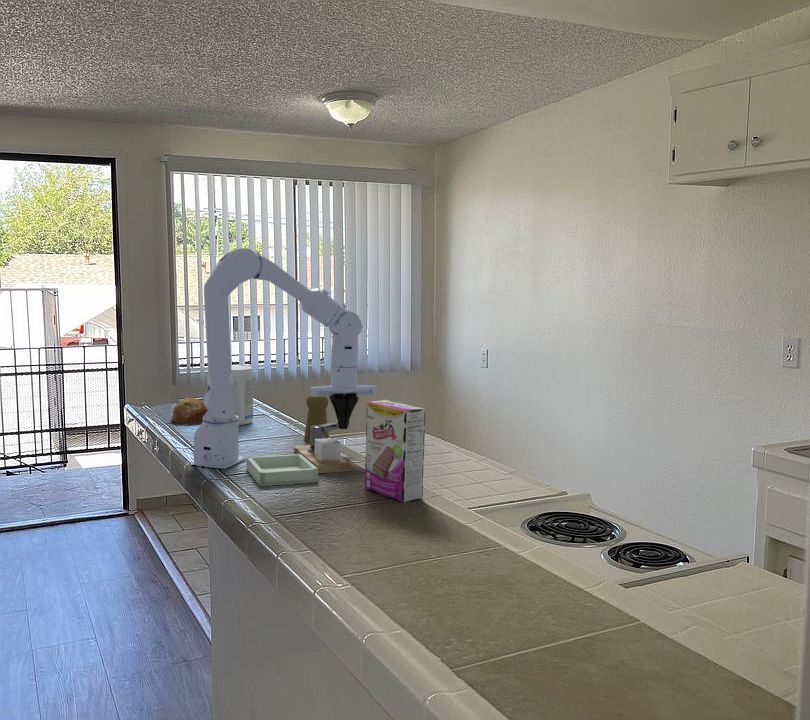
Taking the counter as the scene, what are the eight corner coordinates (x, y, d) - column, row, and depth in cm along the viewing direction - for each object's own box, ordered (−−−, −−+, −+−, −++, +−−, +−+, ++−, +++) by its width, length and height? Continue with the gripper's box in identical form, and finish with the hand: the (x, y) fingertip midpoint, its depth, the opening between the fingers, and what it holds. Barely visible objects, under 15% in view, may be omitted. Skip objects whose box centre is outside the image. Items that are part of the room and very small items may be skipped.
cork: (324, 443, 177) (325, 397, 176) (300, 441, 178) (301, 395, 177) (332, 438, 183) (333, 393, 182) (308, 436, 184) (309, 392, 183)
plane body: (293, 453, 166) (293, 445, 166) (324, 451, 169) (324, 443, 169) (316, 473, 150) (316, 463, 149) (350, 470, 152) (350, 461, 152)
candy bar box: (362, 489, 139) (365, 401, 137) (383, 485, 142) (386, 399, 141) (402, 504, 131) (405, 410, 129) (424, 499, 134) (427, 407, 132)
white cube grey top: (314, 457, 156) (314, 439, 156) (333, 455, 158) (333, 438, 158) (321, 462, 152) (321, 444, 151) (340, 461, 153) (340, 442, 153)
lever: (318, 450, 160) (318, 427, 159) (307, 448, 161) (307, 426, 161) (351, 441, 169) (351, 420, 169) (340, 439, 171) (340, 418, 170)
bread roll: (176, 431, 204) (162, 405, 202) (211, 413, 208) (198, 388, 206) (182, 438, 196) (168, 411, 193) (218, 419, 199) (205, 393, 197)
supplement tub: (242, 418, 206) (243, 364, 205) (259, 424, 199) (260, 368, 197) (209, 421, 200) (209, 366, 199) (225, 427, 193) (226, 370, 191)
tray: (246, 469, 151) (246, 457, 151) (300, 465, 155) (300, 453, 155) (260, 486, 139) (260, 473, 139) (318, 481, 143) (318, 468, 143)
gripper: (317, 368, 157) (315, 433, 158) (382, 367, 162) (380, 430, 164) (307, 365, 163) (306, 427, 165) (371, 364, 169) (369, 424, 170)
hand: (342, 428), depth 165 cm, fingers closed
